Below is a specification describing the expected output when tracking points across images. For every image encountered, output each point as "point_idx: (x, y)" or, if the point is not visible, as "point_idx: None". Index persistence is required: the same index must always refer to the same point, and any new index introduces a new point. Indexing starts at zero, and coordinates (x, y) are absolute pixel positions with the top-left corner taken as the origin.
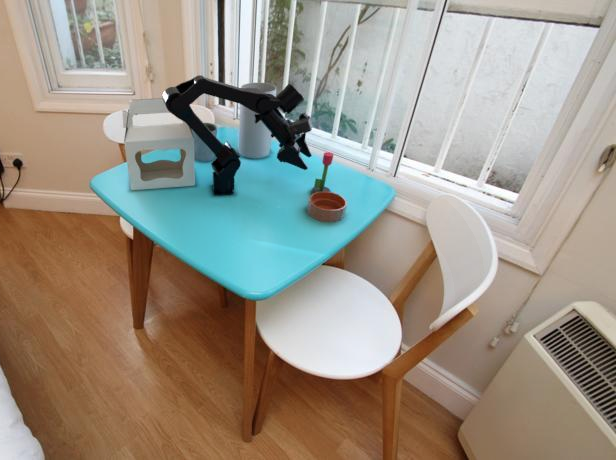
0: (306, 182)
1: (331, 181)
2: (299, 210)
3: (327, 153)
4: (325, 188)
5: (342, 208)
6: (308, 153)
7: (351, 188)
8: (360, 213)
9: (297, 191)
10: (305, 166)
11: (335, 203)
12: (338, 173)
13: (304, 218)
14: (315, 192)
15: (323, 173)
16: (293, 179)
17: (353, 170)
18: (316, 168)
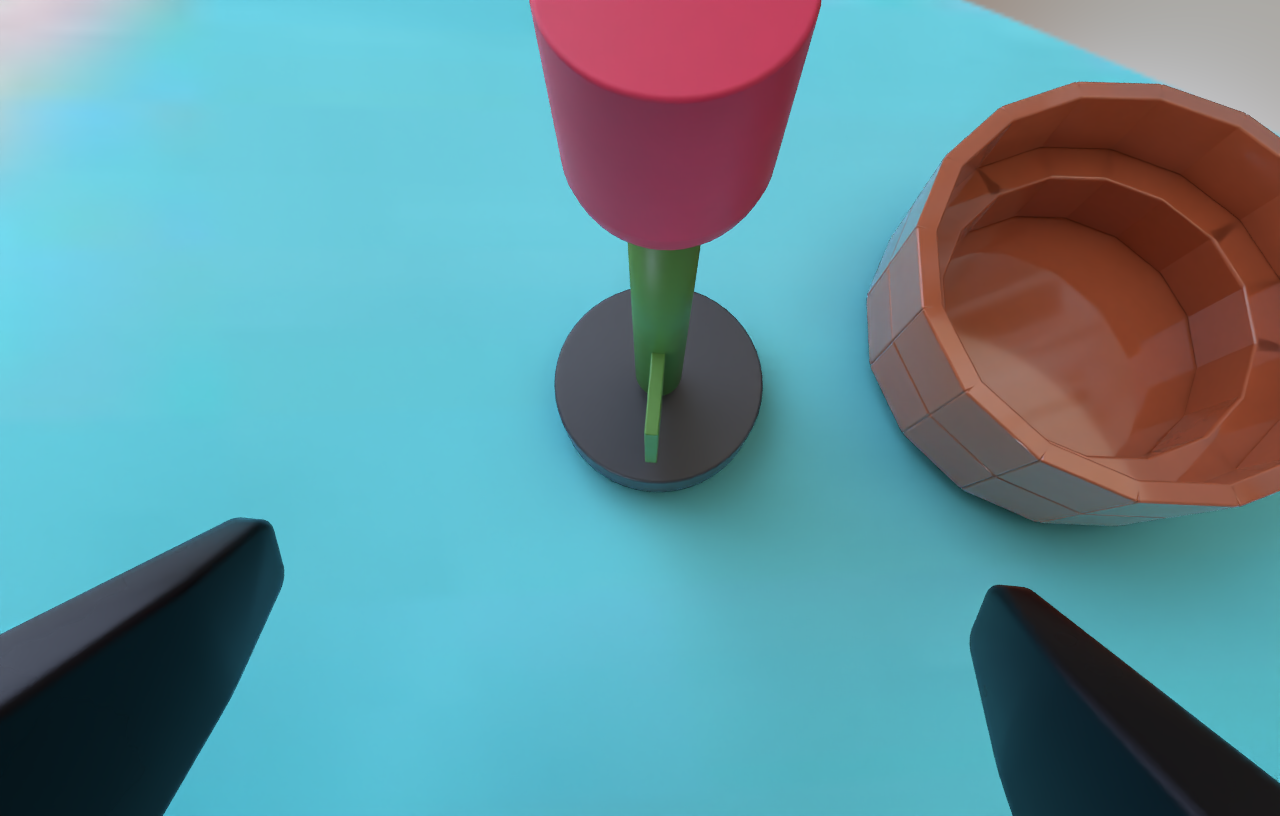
0: (410, 566)
1: (344, 290)
2: (1095, 611)
3: (630, 8)
4: (610, 337)
5: (1256, 125)
6: (216, 608)
7: (467, 112)
8: (917, 58)
9: (663, 666)
10: (1090, 651)
11: (966, 227)
12: (145, 222)
13: (1233, 546)
14: (738, 445)
15: (687, 298)
16: (352, 744)
17: (67, 85)
18: (20, 460)
